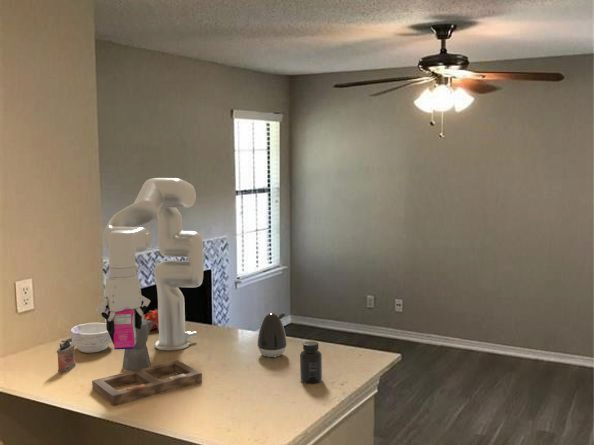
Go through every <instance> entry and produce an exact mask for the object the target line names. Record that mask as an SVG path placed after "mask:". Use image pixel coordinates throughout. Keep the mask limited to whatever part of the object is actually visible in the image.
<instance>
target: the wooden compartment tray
mask: <svg viewBox="0 0 594 445" xmlns="http://www.w3.org/2000/svg"><path fill="white" fill-rule="evenodd" d="M170 374H176V375H173V376H169V377H168V378H164V379H161V380H160V379H159V377H162V376H166V375H170ZM135 383H136V384H137V385H134V386H129V387H127V388H125V389H121V390H117V388H118V387H119V388H120V387H123V386H127V385H131V384H135ZM196 383H197V384H200V383H203V373H202V372H201V371H199V370H197V369H195V368H193V367H191V366H189V365H187V364H186V363H184V362H182V361H180V360H178V359H175V360H173V361H168V362H163V363H159V364H156V365H152V366H151V365H150V366H149V367H147V368H142V369H138V370H134V371H126V372H122V373H117V374H115V375H109V376H105V377H102V378H97V379H92V380H91V386H92V389H91V390H92V391H93V392H94V393H95V394H97V395H98V396H100V397H101V398H102V399H103V400H105V401H106V402H107V403H109V404H110V405H111V406H113V407H115V406H118V405H122V404H126V403H130V402H133V401H137V400H141V399H146V398H149V397H152V395H153V396H156V395H159V394H163V393H168V392H171V391H174V390H179V389H182V388H186V387H189V385H190V386H192V385H193V384H194V385H196Z"/></svg>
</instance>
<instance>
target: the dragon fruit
mask: <svg viewBox="0 0 594 445" xmlns="http://www.w3.org/2000/svg"><path fill="white" fill-rule="evenodd" d="M143 317H144V318H143V319H144V320H149V321H154V322H155V324H154V325H153V326H152V328H151V330H153V329H157V331H159V320H158V308H154V310H149V311H148V312H146V313H145V314H144V315H143ZM151 330H150V331H151Z"/></svg>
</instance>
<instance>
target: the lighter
mask: <svg viewBox="0 0 594 445" xmlns="http://www.w3.org/2000/svg"><path fill="white" fill-rule="evenodd" d="M71 342H72V338H71V337H68V338H66V339H61V342H59V348H58V349H56V354H57V368H58V369H57V373H58V374H65V373H68V372H70V371H72V370H73V369H74V368H75V367H76V360H75V359H76V358H75V347H76V346H75V344H71Z"/></svg>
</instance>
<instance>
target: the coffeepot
mask: <svg viewBox="0 0 594 445" xmlns="http://www.w3.org/2000/svg"><path fill="white" fill-rule="evenodd" d="M154 324H155V322H154V321H149V320H144V318H142V325H141V329H137V328H136V345H135V347H134V349H124V352H123V359H122V360H123V361H122V365H121V366H122V368H123V370H125V371H127V372H130V371H134V370H138V369H142V368H147V367H151V359H150V354H149V349H148V346H147V342H148V339H149V333H150V331H151V328H152V326H153V325H154ZM109 335H110V337H111V340H112V342H111V343H112V344H113V345H114V334H110V333H109Z"/></svg>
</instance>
